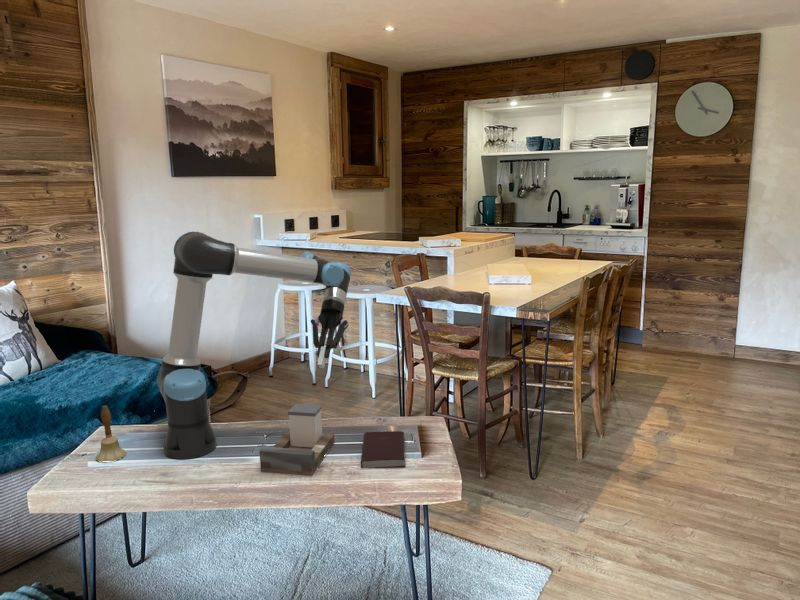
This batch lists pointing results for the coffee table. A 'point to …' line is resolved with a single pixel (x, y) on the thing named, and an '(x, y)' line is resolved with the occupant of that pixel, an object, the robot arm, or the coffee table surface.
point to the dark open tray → (318, 456)
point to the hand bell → (109, 440)
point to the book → (383, 450)
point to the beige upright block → (305, 425)
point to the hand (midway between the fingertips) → (320, 366)
